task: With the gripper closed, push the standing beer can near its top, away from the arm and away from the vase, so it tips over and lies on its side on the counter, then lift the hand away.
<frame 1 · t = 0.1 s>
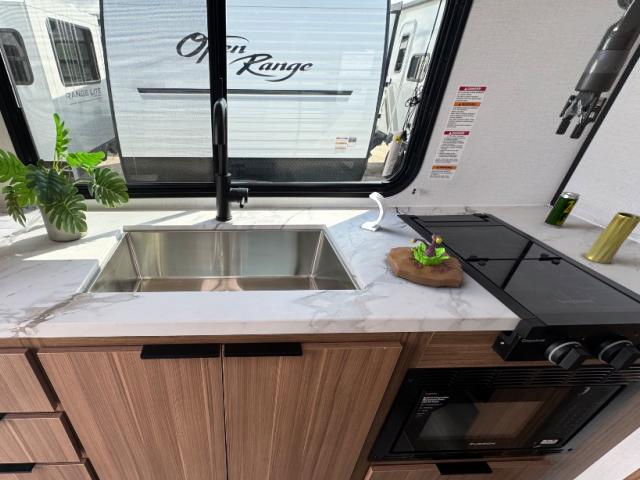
hand: (566, 136, 98), 32 cm above the worktop, tool pointing down, fingers open, 8 cm apart
vase: (596, 259, 101), on the worktop
beer can: (551, 225, 124), on the worktop
headphone stand: (371, 228, 119), on the worktop
plant: (422, 269, 95), on the worktop
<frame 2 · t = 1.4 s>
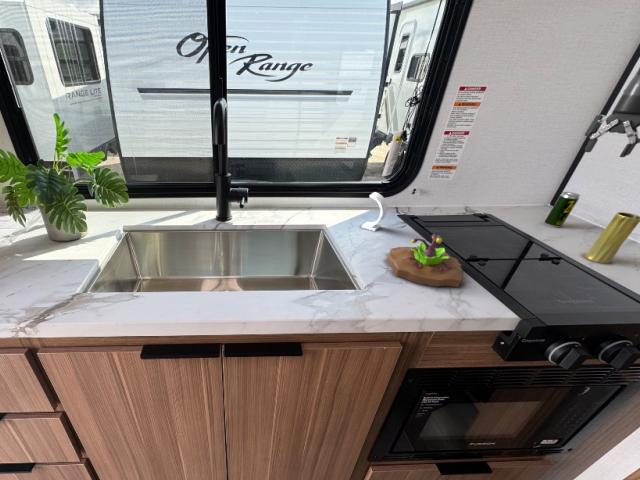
hand: (604, 154, 102), 27 cm above the worktop, tool pointing down, fingers open, 8 cm apart
nothing on the worktop moved.
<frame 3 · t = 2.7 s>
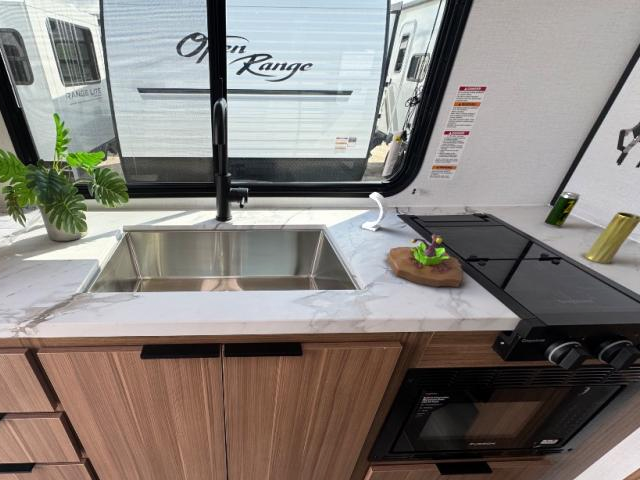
hand: (627, 165, 105), 23 cm above the worktop, tool pointing down, fingers open, 3 cm apart
nothing on the worktop moved.
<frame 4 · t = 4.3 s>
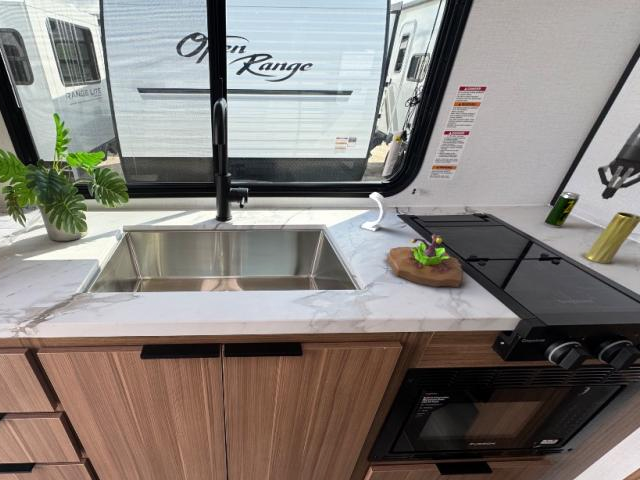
hand: (605, 198, 112), 12 cm above the worktop, tool pointing down, fingers closed
nothing on the worktop moved.
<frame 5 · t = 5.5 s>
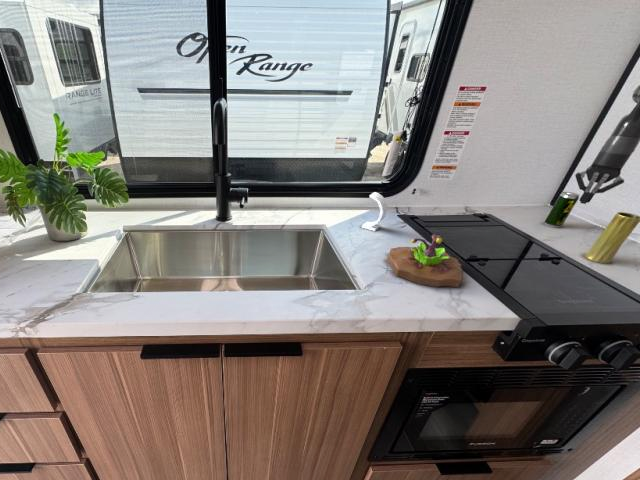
hand: (582, 203, 116), 10 cm above the worktop, tool pointing down, fingers closed
beer can: (551, 225, 124), on the worktop, touching gripper
everything else where it was.
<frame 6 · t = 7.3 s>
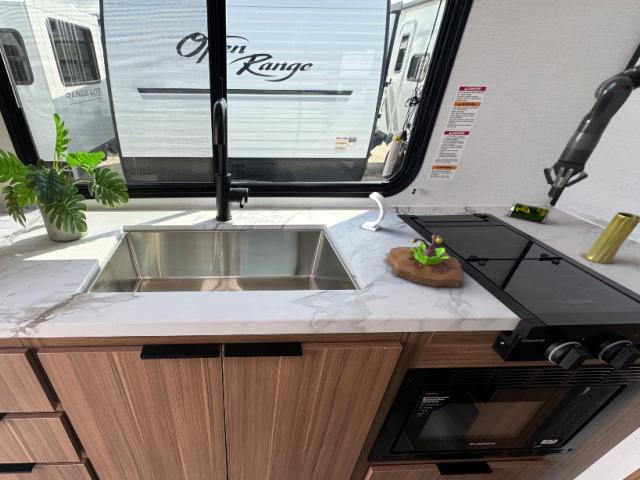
hand: (551, 196, 121), 10 cm above the worktop, tool pointing down, fingers closed
beer can: (547, 216, 124), point 3 cm above the worktop
everything else where it was.
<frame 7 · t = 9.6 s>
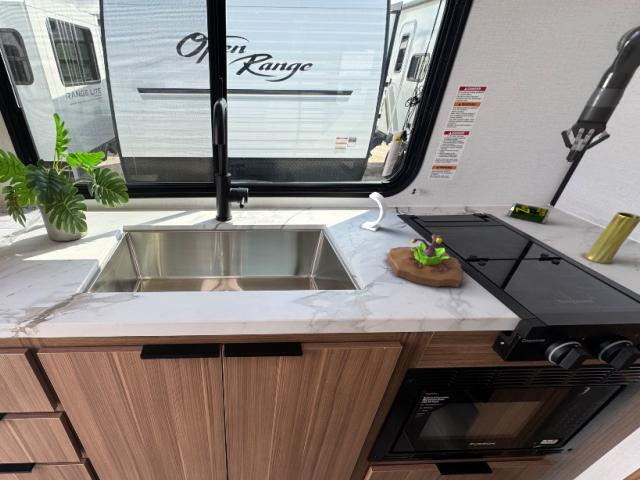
hand: (569, 161, 114), 22 cm above the worktop, tool pointing down, fingers closed
nothing on the worktop moved.
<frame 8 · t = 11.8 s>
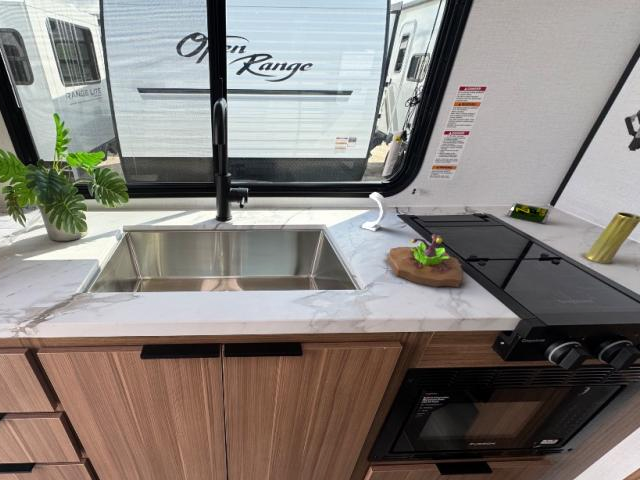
hand: (631, 150, 107), 27 cm above the worktop, tool pointing down, fingers closed
nothing on the worktop moved.
at the end: beer can tilted 90°; beer can inside the target area on the worktop beside the vase (4.5 cm from its centre), point 2.9 cm above the worktop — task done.
